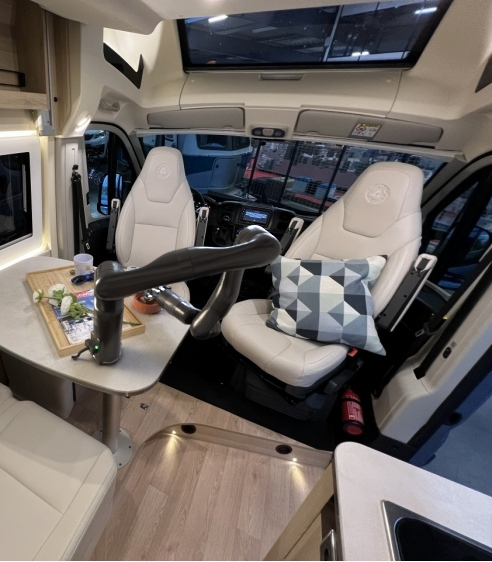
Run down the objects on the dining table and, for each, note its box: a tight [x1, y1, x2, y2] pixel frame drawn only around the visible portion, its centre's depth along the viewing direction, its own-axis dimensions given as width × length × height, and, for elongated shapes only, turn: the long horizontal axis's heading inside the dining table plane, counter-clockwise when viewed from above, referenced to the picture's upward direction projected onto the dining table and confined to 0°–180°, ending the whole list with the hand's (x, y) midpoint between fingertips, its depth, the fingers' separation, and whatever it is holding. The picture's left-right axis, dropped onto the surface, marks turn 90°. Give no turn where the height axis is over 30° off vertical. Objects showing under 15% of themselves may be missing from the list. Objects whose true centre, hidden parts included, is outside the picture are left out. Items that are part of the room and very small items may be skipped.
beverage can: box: [125, 265, 140, 271], centre depth 130 cm, size 6×6×12 cm
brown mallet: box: [140, 290, 154, 305], centre depth 119 cm, size 5×4×14 cm
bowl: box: [132, 292, 162, 315], centre depth 122 cm, size 12×12×4 cm
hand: (144, 282), depth 120 cm, fingers closed on brown mallet, 2 cm apart
